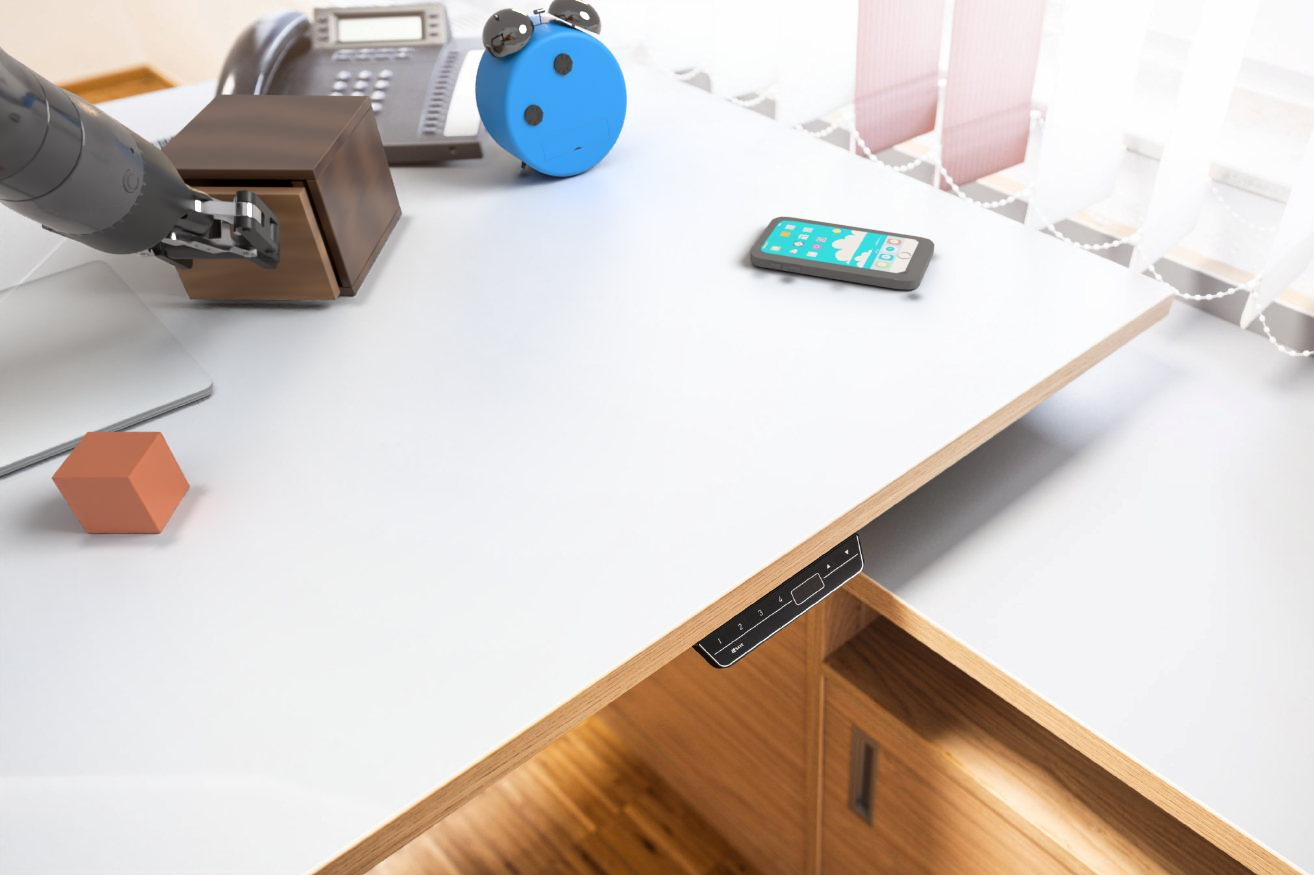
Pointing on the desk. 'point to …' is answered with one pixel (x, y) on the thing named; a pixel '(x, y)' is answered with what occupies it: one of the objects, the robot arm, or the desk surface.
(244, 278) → the drawer
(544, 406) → the desk surface
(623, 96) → the alarm clock
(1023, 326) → the desk surface
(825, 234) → the smartphone
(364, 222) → the cabinet
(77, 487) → the block
